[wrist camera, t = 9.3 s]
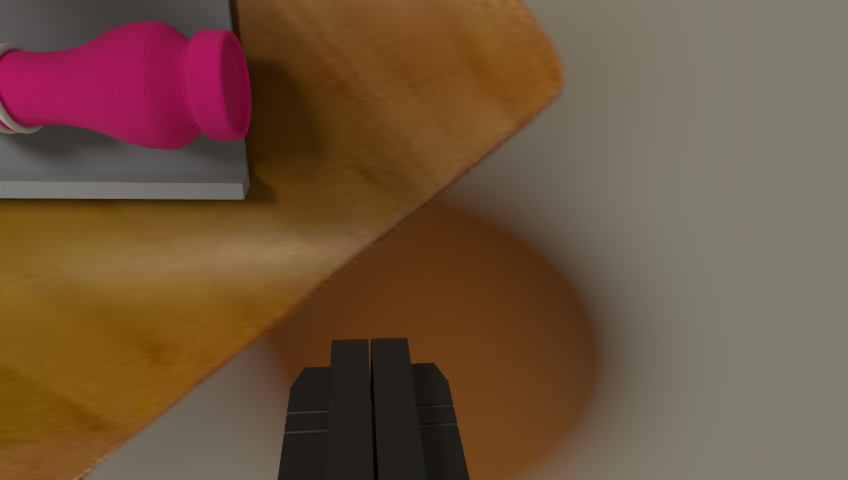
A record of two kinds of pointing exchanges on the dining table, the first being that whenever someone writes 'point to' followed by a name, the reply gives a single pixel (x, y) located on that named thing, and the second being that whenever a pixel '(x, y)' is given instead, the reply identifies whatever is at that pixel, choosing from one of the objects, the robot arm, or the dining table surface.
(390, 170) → the dining table surface
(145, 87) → the pepper mill
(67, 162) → the gray open-ended tray
